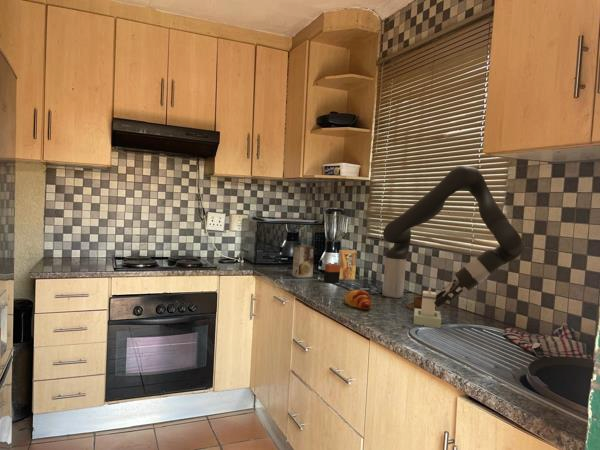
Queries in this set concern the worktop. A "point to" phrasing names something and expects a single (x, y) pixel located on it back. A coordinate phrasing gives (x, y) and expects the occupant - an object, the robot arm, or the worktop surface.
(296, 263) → the coffee box
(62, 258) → the worktop surface
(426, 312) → the block
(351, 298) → the croissant
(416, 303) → the place setting
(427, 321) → the green rectangular tray
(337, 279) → the battery
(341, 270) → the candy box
